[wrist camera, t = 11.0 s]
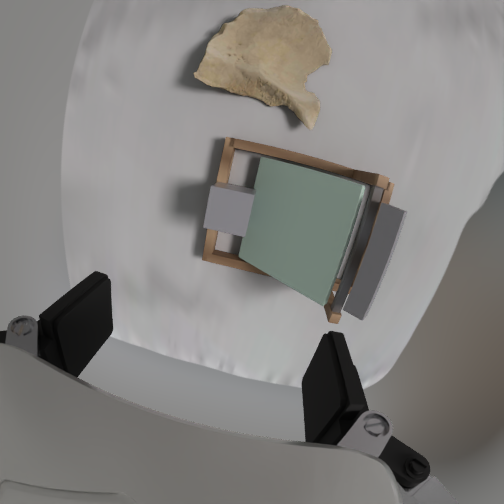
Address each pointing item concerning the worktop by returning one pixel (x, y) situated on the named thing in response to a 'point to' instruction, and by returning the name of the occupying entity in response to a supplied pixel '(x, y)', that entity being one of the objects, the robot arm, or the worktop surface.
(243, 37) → the rock
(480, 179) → the worktop surface
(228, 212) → the block
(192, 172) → the worktop surface
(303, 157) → the frame
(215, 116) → the worktop surface
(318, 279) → the trapdoor
